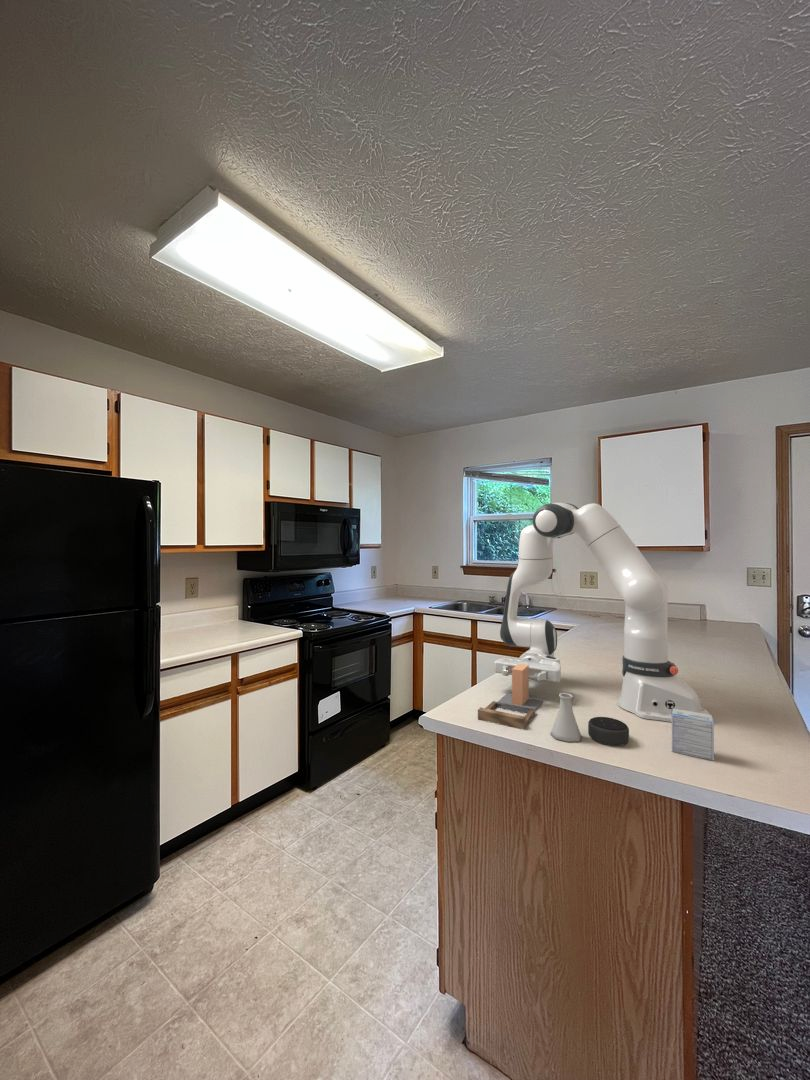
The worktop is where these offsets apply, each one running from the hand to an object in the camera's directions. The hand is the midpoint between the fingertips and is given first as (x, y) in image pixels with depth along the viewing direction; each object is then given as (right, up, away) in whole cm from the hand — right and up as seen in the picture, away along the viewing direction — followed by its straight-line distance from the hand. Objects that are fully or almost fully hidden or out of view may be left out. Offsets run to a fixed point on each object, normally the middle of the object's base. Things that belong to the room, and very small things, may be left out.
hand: (520, 675), depth 129 cm
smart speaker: (+15, -8, -24) cm, 29 cm away
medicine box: (+30, -8, -31) cm, 44 cm away
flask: (+5, -8, -23) cm, 25 cm away
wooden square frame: (-6, -8, -11) cm, 15 cm away
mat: (0, -8, 0) cm, 8 cm away
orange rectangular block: (0, -8, 0) cm, 8 cm away
